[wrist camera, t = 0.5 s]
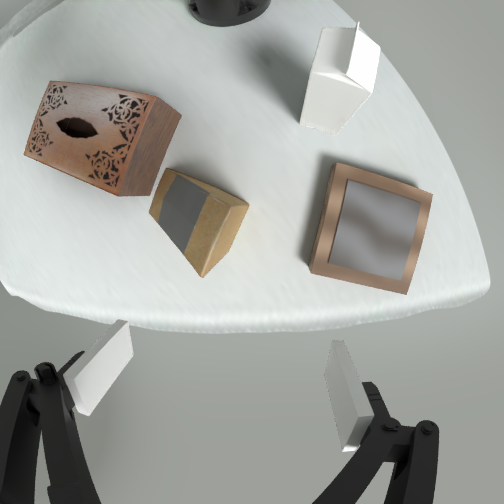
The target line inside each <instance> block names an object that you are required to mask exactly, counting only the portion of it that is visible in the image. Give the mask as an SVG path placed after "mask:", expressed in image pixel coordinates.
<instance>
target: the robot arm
mask: <svg viewBox="0 0 504 504" xmlns="http://www.w3.org/2000/svg"><path fill="white" fill-rule="evenodd" d="M270 1H271V0H188V4H189V8H190V10H191V12H192V14H193V15H194V17H195V18H196V19H197V20H198V21H200V22H202V23H204V24H207V25H211V26H219V27H225V26H234V25H239V24H243V23H246V22H248V21H251V20H253V19H255V18H256V17H258V16H260V15H261V14H262V13H263V12H264V11H265V10H266V9H267V8H268V6H269V4H270ZM132 356H133V350H132V344H131V338H130V332H129V325H128V321H124V320H119V319H118V320H117V321H116V322H115V323H114V324H113V325H112V326H111V327H110V328H109V329H108V330H107V331H106V332H105V333H104V334H103V335H102V336H101V337H100V338H99V339H98V340H97V341H96V342H95V343H94V344H93V345H92V346H91V347H90V348H89V349H88V350H87V351H86V352H85V351H81V352H79V353H77V354H75V356H73V357H72V358H71V360H69V361H68V363H66V364H65V365H64V366H63V367H62V368H61V369H60V370H59V371H58V372H56V369H55V367H54V365H53V364H52V363H49V362H44V363H40V364H39V365H37V366H36V367H35V369H34V371H35V374H36V377H37V379H31V377H30V375H29V373H28V372H27V371H24V370H23V371H17V372H16V373H14V374H13V376H12V377H11V380H10V382H9V385H8V387H7V390H6V392H5V395H4V397H3V400H2V403H1V405H0V504H34V494H35V476H36V465H37V456H38V449H39V442H40V435H41V430H42V438H43V445H44V452H45V459H46V464H47V469H48V474H49V479H50V484H51V485H50V486H48V487H47V490H48V496H49V499H50V503H51V504H101V502H100V499H99V497H98V494H97V492H96V489H95V487H94V484H93V481H92V479H91V476H90V472H89V469H88V466H87V463H86V460H85V457H84V453H83V450H82V446H81V442H80V438H79V434H78V430H77V426H76V422H75V417H74V412H73V411H72V408H73V407H74V405H75V406H76V408H77V410H78V412H79V413H82V414H84V415H87V416H89V415H90V414H91V413H92V411H93V410H94V408H95V407H96V406H97V404H98V403H99V401H100V400H101V399H102V397H103V396H104V394H105V393H106V392H107V390H108V389H109V388H110V386H111V385H112V383H113V382H114V381H115V379H116V378H117V377H118V375H119V374H120V373H121V371H122V370H123V369H124V367H125V366H126V364H127V363H128V362H129V360H130V359H131V358H132ZM324 376H325V380H326V384H327V388H328V392H329V396H330V401H331V405H332V409H333V413H334V417H335V422H336V426H337V430H338V435H339V439H340V444H341V448H342V451H343V452H344V451H354V450H357V449H358V447H359V445H361V446H360V447H359V449H358V450H357V451H356V453H355V454H354V455H353V457H352V458H351V459H350V461H349V462H348V463H347V464H346V466H345V467H344V468H343V469H342V471H341V472H340V473H339V474H338V475H337V477H336V478H335V479H334V480H333V481H332V483H331V484H330V485H329V486H328V487H327V488H326V489H325V490H324V491H323V493H322V494H321V495H320V496H319V497H318V498H317V499H316V500H315V501H314V502H313V503H312V504H355V503H356V502H357V500H358V499H359V497H360V496H361V495H362V493H363V492H364V490H365V489H366V488H367V486H368V485H369V483H370V482H371V480H372V479H373V477H374V476H375V474H376V473H377V471H378V470H379V468H380V466H381V465H382V463H383V462H395V464H394V468H393V472H392V476H391V480H390V484H389V487H388V491H387V495H386V498H385V501H384V504H432V503H433V498H434V491H435V483H436V475H437V464H438V463H437V462H438V447H439V428H438V426H437V425H436V424H435V423H434V422H432V421H429V420H423V421H421V422H419V423H418V424H417V425H416V427H409V426H402V425H401V424H400V423H399V421H397V420H396V419H394V418H391V417H390V415H389V412H388V410H387V408H386V406H385V403H384V401H383V400H382V397H381V395H380V392H379V390H378V388H377V387H376V386H375V385H374V384H373V383H372V382H361V380H360V378H359V376H358V373H357V371H356V369H355V366H354V364H353V361H352V359H351V356H350V354H349V352H348V350H347V347H346V345H345V342H344V341H335V340H333V341H332V343H331V348H330V352H329V357H328V361H327V365H326V369H325V374H324Z"/></svg>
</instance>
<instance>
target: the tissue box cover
mask: <svg viewBox="0 0 504 504" xmlns="http://www.w3.org/2000/svg"><path fill="white" fill-rule="evenodd" d="M181 116H182V115H181V114H180V113H178V112H177V111H176V110H174V109H173V108H172V107H170V106H169V105H168V104H166V103H165V102H164V101H162V100H161V99H160V98H158V97H156V96H152V95H147V94H142V93H137V92H132V91H127V90H121V89H116V88H109V87H103V86H96V85H89V84H80V83H71V82H60V81H50V82H49V84H48V87H47V89H46V91H45V94H44V96H43V99H42V101H41V104H40V106H39V109H38V111H37V114H36V117H35V120H34V123H33V125H32V128H31V132H30V135H29V138H28V141H27V145H26V148H25V152H24V155H25V156H27V157H29V158H32V159H34V160H36V161H39V162H41V163H43V164H45V165H48V166H50V167H52V168H55V169H57V170H59V171H61V172H64V173H66V174H68V175H70V176H73V177H75V178H77V179H80V180H82V181H84V182H86V183H89V184H91V185H93V186H96V187H98V188H100V189H103V190H105V191H107V192H109V193H112V194H114V195H116V196H150V194H151V191H152V188H153V185H154V182H155V180H156V177H157V174H158V171H159V169H160V166H161V164H162V161H163V158H164V156H165V153H166V151H167V148H168V146H169V144H170V141H171V139H172V136H173V134H174V132H175V129H176V127H177V125H178V122H179V120H180V118H181ZM67 125H68V126H67ZM66 128H67V129H66Z"/></svg>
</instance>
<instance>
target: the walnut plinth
mask: <svg viewBox="0 0 504 504" xmlns="http://www.w3.org/2000/svg"><path fill="white" fill-rule="evenodd" d="M432 196H433V194H431V193H428V192H426V191H423V190H421V189H418V188H415V187H413V186H410V185H407V184H405V183H402V182H399V181H396V180H393V179H390V178H387V177H384V176H381V175H378V174H375V173H372V172H369V171H365V170H362V169H359V168H356V167H352V166H349V165H345V164H342V163H338V162H337V163H335V164H334V165H332V168H331V173H330V178H329V182H328V187H327V192H326V196H325V201H324V205H323V210H322V214H321V218H320V222H319V227H318V231H317V235H316V239H315V243H314V247H313V251H312V255H311V259H310V262H309V266H308V267H309V270H310V272H311V273H312V274H316V275H321V276H325V277H329V278H334V279H338V280H343V281H347V282H352V283H356V284H360V285H365V286H369V287H374V288H378V289H383V290H387V291H392V292H396V293H401V294H405V295H407V292H408V289H409V286H410V283H411V280H412V276H413V273H414V270H415V267H416V263H417V260H418V256H419V253H420V249H421V245H422V241H423V238H424V234H425V229H426V225H427V221H428V216H429V211H430V207H431V201H432Z"/></svg>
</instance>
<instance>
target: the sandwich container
mask: <svg viewBox="0 0 504 504" xmlns="http://www.w3.org/2000/svg"><path fill="white" fill-rule="evenodd" d="M248 208H249V204H248V203H246V202H244V201H242V200H240V199H238V198H236V197H234V196H232V195H230V194H228V193H226V192H224V191H222V190H220V189H218V188H216V187H213V186H211V185H208V184H206V183H203V182H201V181H199V180H196V179H194V178H191V177H189V176H186V175H184V174H181V173H179V172H176V171H173V170H171V169H168V168H166V169H165V171H164V174H163V176H162V178H161V180H160V183H159V185H158V187H157V190H156V192H155V195H154V198H153V201H152V204H151V207H150V210H149V214H150V215H151V216H152V217H153V218H154V219H155V221H156V222H157V223H158V224H159V225H160V227H161V228H162V229H163V230H164V231H165V233H166V234H167V235H168V236H169V238H170V239H171V240H172V241H173V243H174V244H175V245H176V246H177V247H178V249H179V250H180V251H181V252H182V254H183V255H184V256H185V257H186V259H187V260H188V261H189V262H190V264H191V265H192V266H193V268H194V269H195V270H196V272H197V273H198V274H199V276H200V277H202V278H203V277H204V276H205V275H206V274H207V273H208V272H209V271H210V270H211V269H212V268H213V267H214V266H215V265H216V264H217V263H218V262H219V261H220V260H221V259H222V258H223V257H224V256H225V255H226V254H227V253H228V252H229V250H230V247H231V245H232V243H233V241H234V239H235V236H236V234H237V232H238V230H239V228H240V225H241V223H242V221H243V219H244V216H245V214H246V212H247V210H248Z"/></svg>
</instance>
